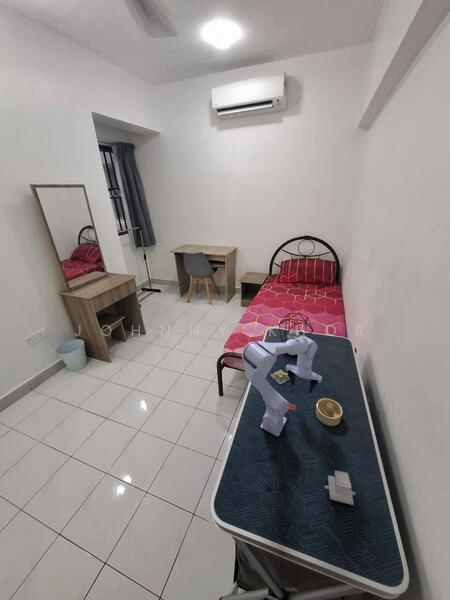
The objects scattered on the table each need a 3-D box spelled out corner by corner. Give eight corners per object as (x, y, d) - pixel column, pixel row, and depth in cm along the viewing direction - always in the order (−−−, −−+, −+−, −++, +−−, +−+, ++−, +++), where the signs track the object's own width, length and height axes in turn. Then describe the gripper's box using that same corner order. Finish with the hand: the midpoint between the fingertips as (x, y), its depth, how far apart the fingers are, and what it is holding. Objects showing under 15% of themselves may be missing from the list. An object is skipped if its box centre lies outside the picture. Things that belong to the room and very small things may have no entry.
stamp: (325, 502, 75) (328, 488, 71) (322, 479, 81) (326, 464, 77) (356, 510, 73) (362, 495, 69) (351, 486, 79) (356, 471, 75)
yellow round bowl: (337, 430, 96) (339, 422, 94) (312, 418, 101) (313, 411, 99) (342, 412, 103) (344, 404, 101) (319, 402, 109) (320, 394, 107)
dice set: (288, 377, 123) (288, 374, 123) (280, 381, 121) (280, 378, 120) (281, 371, 127) (281, 368, 127) (274, 375, 125) (274, 372, 124)
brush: (332, 420, 99) (334, 411, 97) (321, 415, 102) (323, 406, 99) (334, 412, 103) (336, 403, 100) (324, 408, 105) (325, 399, 102)
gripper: (325, 363, 97) (321, 388, 103) (290, 352, 104) (289, 375, 110) (320, 374, 91) (316, 399, 97) (284, 361, 99) (283, 385, 105)
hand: (301, 387), depth 104 cm, fingers open, 7 cm apart
